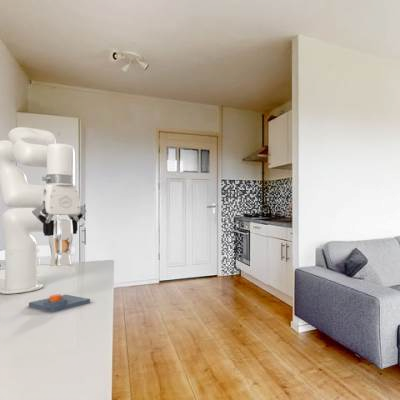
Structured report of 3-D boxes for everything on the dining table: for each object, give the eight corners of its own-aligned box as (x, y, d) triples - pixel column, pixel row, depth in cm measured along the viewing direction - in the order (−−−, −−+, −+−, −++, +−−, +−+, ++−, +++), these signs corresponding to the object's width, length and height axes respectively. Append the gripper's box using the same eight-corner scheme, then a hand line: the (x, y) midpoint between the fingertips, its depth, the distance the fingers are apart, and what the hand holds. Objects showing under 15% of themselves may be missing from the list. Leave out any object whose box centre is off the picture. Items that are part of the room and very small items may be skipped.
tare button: (47, 301, 105) (47, 296, 105) (58, 299, 107) (58, 293, 107) (53, 303, 103) (52, 297, 103) (63, 300, 106) (63, 294, 106)
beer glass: (63, 266, 110) (63, 219, 110) (42, 266, 110) (42, 220, 110) (78, 263, 117) (78, 219, 117) (58, 263, 117) (58, 219, 117)
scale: (25, 307, 108) (25, 298, 108) (65, 298, 118) (65, 289, 118) (50, 313, 101) (50, 303, 101) (90, 303, 112) (90, 294, 112)
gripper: (36, 179, 105) (37, 237, 104) (93, 182, 120) (93, 232, 120) (24, 180, 108) (24, 236, 108) (80, 183, 123) (81, 232, 123)
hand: (60, 234), depth 114 cm, fingers closed on beer glass, 7 cm apart
